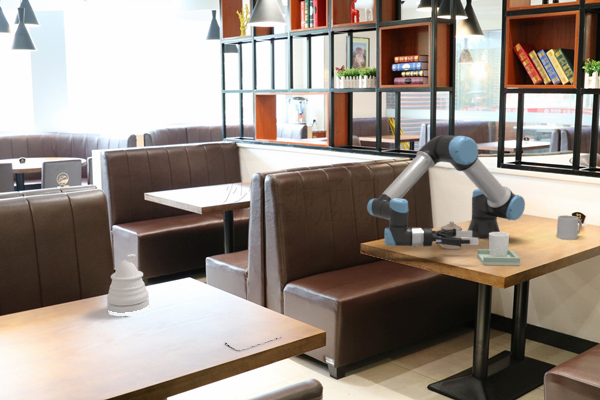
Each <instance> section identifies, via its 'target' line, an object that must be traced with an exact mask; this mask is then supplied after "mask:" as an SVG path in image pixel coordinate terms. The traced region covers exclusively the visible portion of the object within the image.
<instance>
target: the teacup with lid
mask: <svg viewBox="0 0 600 400" xmlns="http://www.w3.org/2000/svg"><path fill="white" fill-rule="evenodd" d="M451 229H456V231H463V228H462V227H461V226H460V225H457V224H455V222H454V221H449V223H447V224H445V225H442V226H441V228H440V229H438V230H437V231H441V230H451ZM455 238H462V237H456V236H455ZM440 246H441V248H443V249H445V250H459V249H461V248H462V246H461V247H459V246H454V245H446V244H440Z"/></svg>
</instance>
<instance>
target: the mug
mask: <svg viewBox="0 0 600 400" xmlns="http://www.w3.org/2000/svg"><path fill="white" fill-rule="evenodd" d="M556 225H557V226H556V227H557V228H556V238H557V239H559V238H560V240H566V241H567V240H569V241H572V240H573V241H575V240H577V239H578V235H579V234H580V233H581V232H582V228H583V223H582V221H581V219H579V217H578V216H576V215H575V216H574V215H569V214H568V215H557V224H556Z"/></svg>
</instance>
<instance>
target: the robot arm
mask: <svg viewBox="0 0 600 400" xmlns="http://www.w3.org/2000/svg"><path fill="white" fill-rule="evenodd" d="M441 162H443V163H449V164H451V165H452V166H453V168H454V169H455V170H456V171H457V172H463V173H464V175H465V176H466V177H467V178H468V179H469V180H470V181H471V182H472V183H473V184H474V185H475V187H476V189H474V190H473V191H472V197H471V220H470V222H469V225H468V228H467V230H461V231H456V229H451V230H441V229H440V230H441V231H438V230H433V229H432V227H423V228H421V227H409V224H408V223H409V201H408V200H407V199H405V198H403V197H404V196H405V195H406V194H407V193H408V192H409V191H410V189H412V187H413V186H414V185H415V184H416V183H417V182H418V181H419V180H420V178H421V177H423V175H424V174H425V173H426V172H427V171H428V170H429V169H430V168H434V167H435V166H436V165H437V164H439V163H441ZM525 206H526V202H525V199H524V197H523V196H521V195H519V194H514V193H513V191H512V190H511V189H510V188H509V187H507V186H503V185H502V183H500V182H499V181H498V180H497V178H496V177H495V176H494V175H493V174H492V173H491V171H490V170H489V169H488V168H487V167H486V166H485V164H484V163H483V162H482V161H481V159H479V149H478V144H477V142H476V141H475V140H474V139H473V138H471V137H469V136H465V135H448V134H447V135H446V134H442V135H438V136H435V137H434V138H431V139H430V140H429V141H427V142H426V143H425V144H423V146H421V147H420V148H419V149H418V151H417V152H416V156H415V157H414V159H413V160H411V162H410V163H408V165H407V166H406V167H405V168H404V170H402V172H401V173H400V174H399V175H398V176H397V177H396V178H395V179H394V180H393V182H391V184H389V186H388V187H387V188H386V189H385V190H384V191H383V192H382V193H381V195H379V197H377V198H371V199H370V200H368V203H367V205H366V208H367V212H368V213H369V214H370V215H371V216H374V217H375V218H381V219H385V220H388V221H389V226H388V227H385V228H384V244H385V245H386V246H391V247H393V246H395V247H414V248H417V247H421V246H423V247H432V246H433V243H434V242H435V244H436V245H441V244H446V245H454V246H459V247H461V248H462V245H463V246H478V245H479V239H488V240H489V233H491V232H501V229H500V228H499V224H498V221H497V219H498V218H500V219H506V220H508V221H516V220H518V219H520V218H521V217H522V216H523V214H524V211H525V208H526V207H525ZM455 236H456V237H461V238H455Z"/></svg>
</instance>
